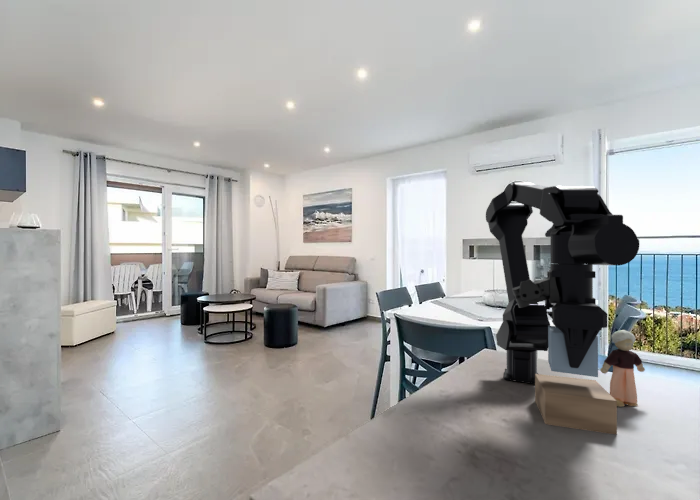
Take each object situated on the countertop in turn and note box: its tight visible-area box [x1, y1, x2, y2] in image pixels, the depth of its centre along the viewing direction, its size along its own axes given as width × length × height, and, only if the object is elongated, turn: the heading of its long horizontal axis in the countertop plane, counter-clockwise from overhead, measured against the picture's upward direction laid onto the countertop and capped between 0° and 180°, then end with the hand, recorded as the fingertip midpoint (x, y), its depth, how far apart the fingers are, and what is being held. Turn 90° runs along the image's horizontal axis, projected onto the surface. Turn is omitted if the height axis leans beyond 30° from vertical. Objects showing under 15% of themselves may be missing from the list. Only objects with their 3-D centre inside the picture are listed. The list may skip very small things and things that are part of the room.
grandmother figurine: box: [599, 329, 646, 407], centre depth 60 cm, size 8×4×13 cm, turn 105°
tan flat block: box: [534, 373, 618, 435], centre depth 55 cm, size 9×9×5 cm
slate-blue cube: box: [547, 325, 599, 378], centre depth 55 cm, size 6×6×6 cm
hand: (571, 361), depth 55 cm, fingers closed on slate-blue cube, 6 cm apart
